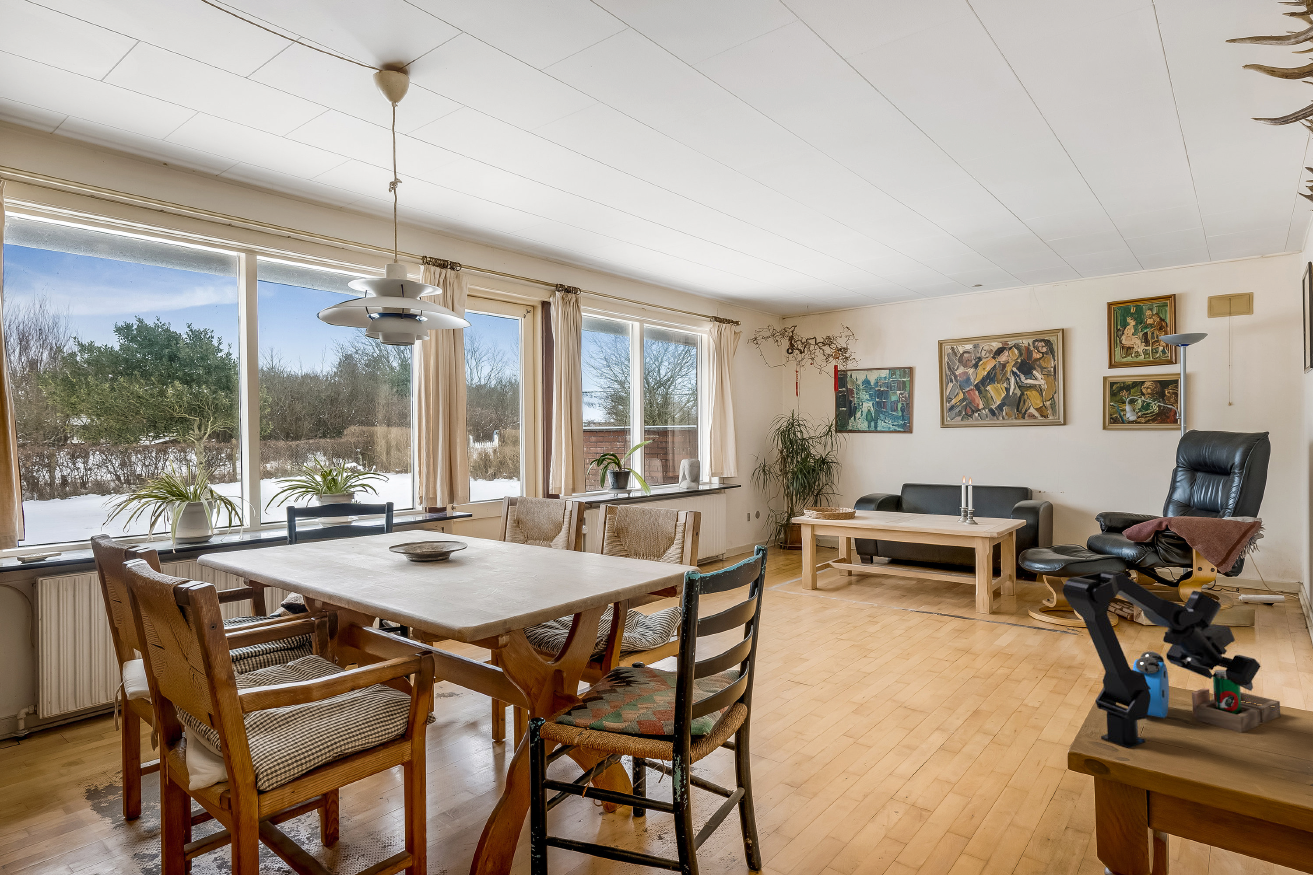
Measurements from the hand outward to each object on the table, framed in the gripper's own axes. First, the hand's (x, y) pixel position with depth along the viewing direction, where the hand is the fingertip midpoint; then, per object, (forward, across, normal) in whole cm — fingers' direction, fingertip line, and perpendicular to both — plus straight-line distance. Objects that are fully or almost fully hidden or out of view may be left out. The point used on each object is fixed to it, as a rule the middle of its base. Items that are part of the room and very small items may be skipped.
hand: (1230, 682), depth 168 cm
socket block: (+9, +1, +4) cm, 10 cm away
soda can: (+6, 0, +8) cm, 10 cm away
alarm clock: (-3, +9, +16) cm, 19 cm away
